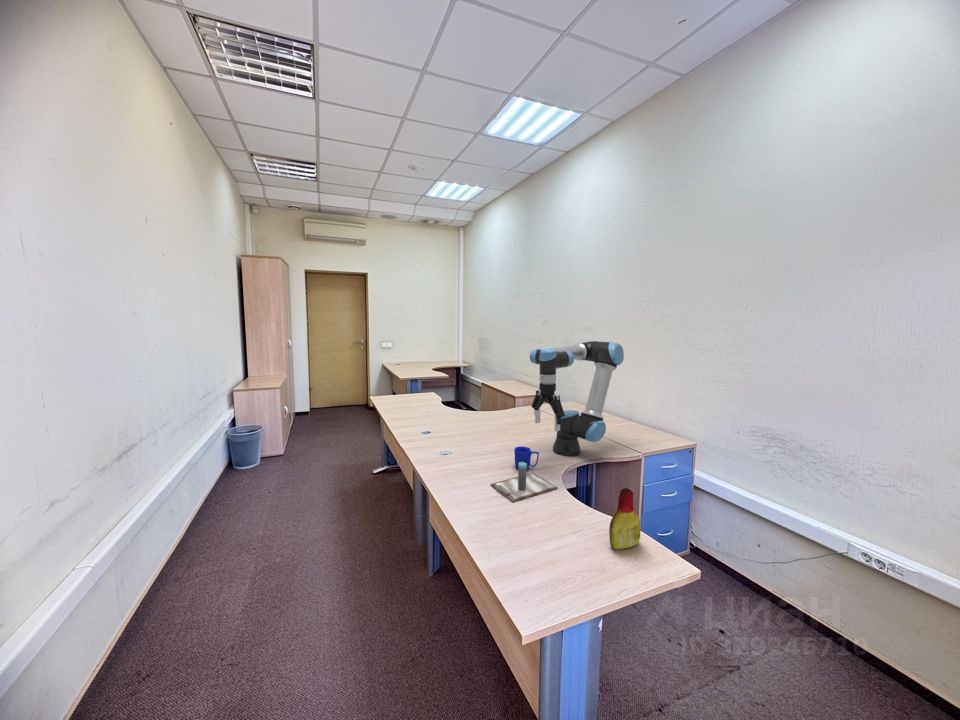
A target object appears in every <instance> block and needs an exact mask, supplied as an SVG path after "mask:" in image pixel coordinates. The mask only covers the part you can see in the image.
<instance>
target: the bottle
mask: <svg viewBox="0 0 960 720" xmlns="http://www.w3.org/2000/svg"><path fill="white" fill-rule="evenodd" d="M608 531H609V544H610V546H611V548H612V549H614V550H622V549H628V548H629V549H630V548H632V547H635V546H636V545H638V544H640V538H641V520H640V517H639V515H638V514H637V512H636V510H635V509H634V492H633V491H632V490H631V489H630V488H628V487H624V488H622V489H621V490H620V492H619V496H618V503H617V509H616V512H615V513H614V515H613V516H612V518H611V520H610V522H609V530H608Z"/></svg>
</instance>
